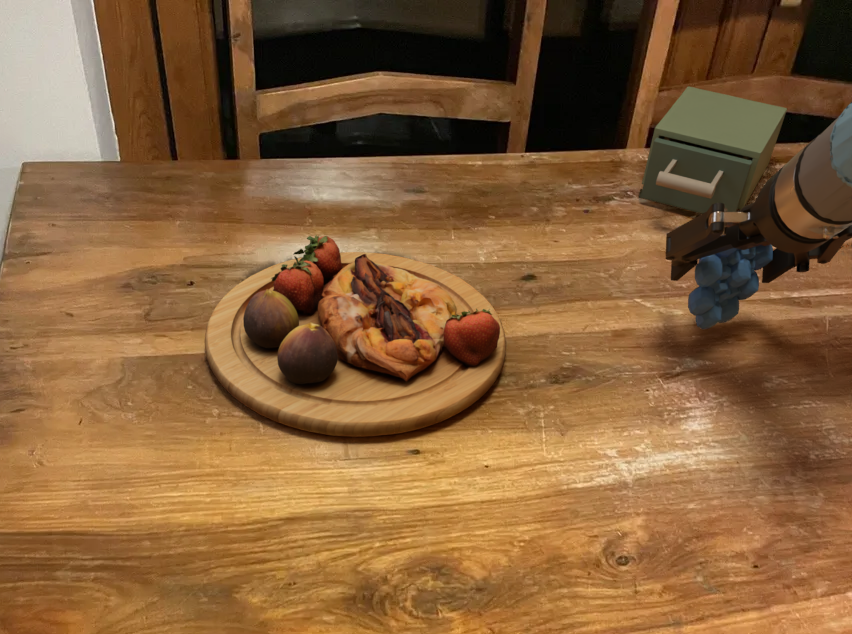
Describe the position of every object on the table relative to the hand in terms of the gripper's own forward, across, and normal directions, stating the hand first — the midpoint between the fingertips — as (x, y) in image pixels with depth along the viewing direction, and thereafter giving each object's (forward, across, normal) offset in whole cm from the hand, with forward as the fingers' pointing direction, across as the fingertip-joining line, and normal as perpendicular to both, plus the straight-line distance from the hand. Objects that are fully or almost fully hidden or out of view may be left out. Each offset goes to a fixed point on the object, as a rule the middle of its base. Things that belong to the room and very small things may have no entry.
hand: (720, 269), depth 102 cm
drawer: (+23, +4, +16) cm, 29 cm away
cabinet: (+27, +7, +19) cm, 34 cm away
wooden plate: (-1, -40, -10) cm, 41 cm away
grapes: (+1, 0, -5) cm, 5 cm away
